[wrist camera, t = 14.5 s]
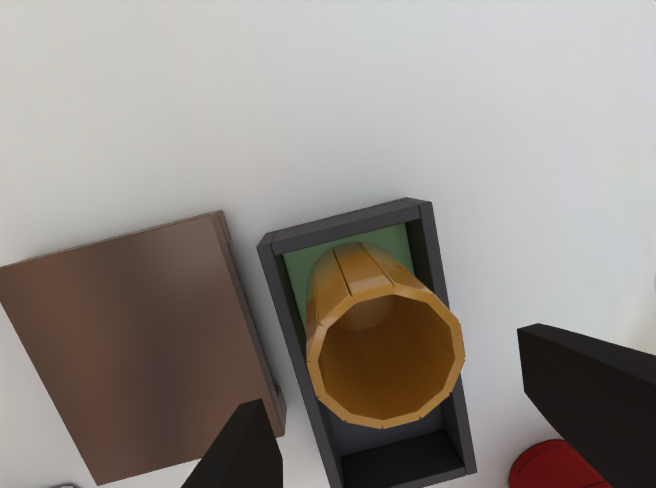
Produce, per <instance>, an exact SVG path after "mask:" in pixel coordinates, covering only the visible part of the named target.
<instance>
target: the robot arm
mask: <svg viewBox="0 0 656 488" xmlns="http://www.w3.org/2000/svg"><path fill="white" fill-rule="evenodd" d="M517 334H518V343H519V351H520V360H521V368H522V376H523V385H524V392H525V393H526V395H527V396H528V397H529V398H530V400H531V401H532V402H533V404H534V405H535V406H536V407H537V409H538V410H539V411H540V412H541V414H542V415H543V416H544V417H545V418H546V420H547V421H548V422H549V423H550V424H551V426H552V427H553V428H554V429H555V430H556V431H557V432H558V433H559V434H560V435H561V436H562V437H563V438H564V439H565V440H566V441H567V442H568V443H569V444H570V445H571V446H572V447H573V448H574V449H575V451H576V452H577V453H578V454H579V455H580V456H581V457H582V458H583V459H584V460H585V461H586V462H587V463H588V464H589V465H590V466H591V467H592V468H593V469H594V470H595V471H596V472H597V473H598V474H599V475H600V476H601V477H602V478H604V479H605V480H606V481H607V482H608V483H609V484H610V485H611V486H612V487H613V488H656V356H655V355H652V354H648V353H644V352H641V351H637V350H634V349H630V348H627V347H623V346H620V345H616V344H613V343H609V342H606V341H602V340H599V339H596V338H592V337H589V336H585V335H582V334H578V333H575V332H571V331H568V330H564V329H560V328H556V327H553V326H549V325H544V324H539V323H537V324H533V325H530V326H526V327H522V328H519V329H517ZM61 488H73V487H71V486H64V487H61ZM181 488H283V458H282V455H281V453H280V450H279V447H278V444H277V441H276V438H275V435H274V432H273V429H272V426H271V423H270V421H269V418H268V415H267V412H266V409H265V406H264V403H263V400H262V398H260V399H256V400H252V401H249V402H245V403H241V404H239V406H238V407H237V408H236V410H235V411H234V413H233V414H232V415H231V417H230V418H229V420H228V421H227V423H226V424H225V426H224V427H223V429H222V430H221V431H220V433H219V434H218V436H217V437H216V439H215V440H214V442H213V443H212V445H211V446H210V447H209V449H208V450H207V452H206V453H205V455H204V456H203V457H202V459H201V460H200V462H199V463H198V465H197V466H196V467H195V469H194V470H193V472H192V473H191V474H190V476H189V477H188V479H187V480H186V481H185V483H184V484H183V485H182V487H181Z"/></svg>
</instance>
